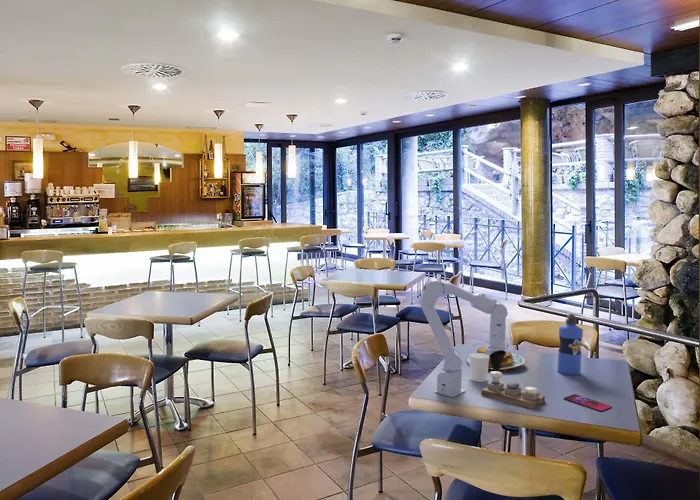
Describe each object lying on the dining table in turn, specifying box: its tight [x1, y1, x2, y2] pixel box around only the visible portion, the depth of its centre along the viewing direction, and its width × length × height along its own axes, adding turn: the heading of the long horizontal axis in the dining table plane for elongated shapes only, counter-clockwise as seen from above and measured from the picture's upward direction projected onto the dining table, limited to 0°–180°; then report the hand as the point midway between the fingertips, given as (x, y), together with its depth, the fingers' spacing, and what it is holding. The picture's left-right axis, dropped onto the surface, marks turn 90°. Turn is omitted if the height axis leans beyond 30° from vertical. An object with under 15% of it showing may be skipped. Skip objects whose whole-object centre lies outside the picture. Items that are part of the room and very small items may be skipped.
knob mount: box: [481, 380, 546, 409], centre depth 206 cm, size 10×20×5 cm, turn 47°
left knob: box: [489, 370, 503, 382], centre depth 210 cm, size 4×4×3 cm
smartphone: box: [563, 393, 613, 413], centre depth 201 cm, size 8×1×15 cm
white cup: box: [468, 352, 489, 383], centre depth 226 cm, size 8×8×10 cm
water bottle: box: [557, 313, 584, 377], centre depth 236 cm, size 9×9×25 cm
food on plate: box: [466, 346, 526, 373], centre depth 247 cm, size 26×25×7 cm
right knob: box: [524, 386, 539, 394], centre depth 201 cm, size 4×4×3 cm
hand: (496, 369), depth 210 cm, fingers closed
